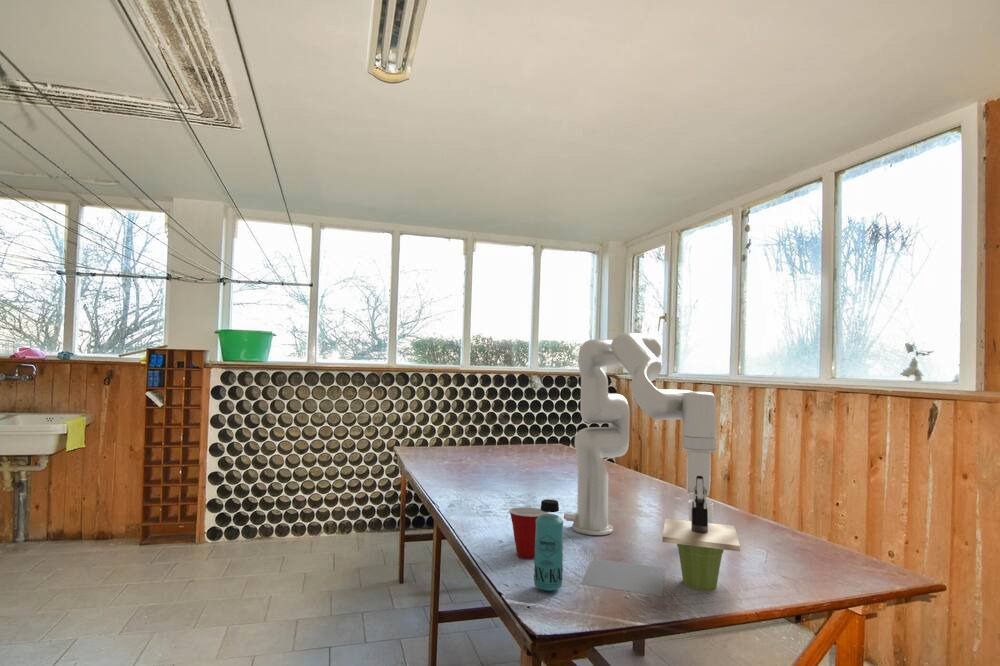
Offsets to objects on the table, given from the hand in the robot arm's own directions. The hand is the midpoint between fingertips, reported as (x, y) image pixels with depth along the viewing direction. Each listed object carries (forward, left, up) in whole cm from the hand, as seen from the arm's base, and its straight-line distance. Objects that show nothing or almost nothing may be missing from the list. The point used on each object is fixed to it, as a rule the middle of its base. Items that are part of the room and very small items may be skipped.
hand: (699, 521), depth 124 cm
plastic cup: (-43, +4, -15) cm, 46 cm away
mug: (+1, +34, -15) cm, 37 cm away
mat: (-17, -2, -15) cm, 22 cm away
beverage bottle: (-32, -17, -15) cm, 39 cm away
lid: (0, 0, -3) cm, 3 cm away
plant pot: (0, 0, -15) cm, 15 cm away
